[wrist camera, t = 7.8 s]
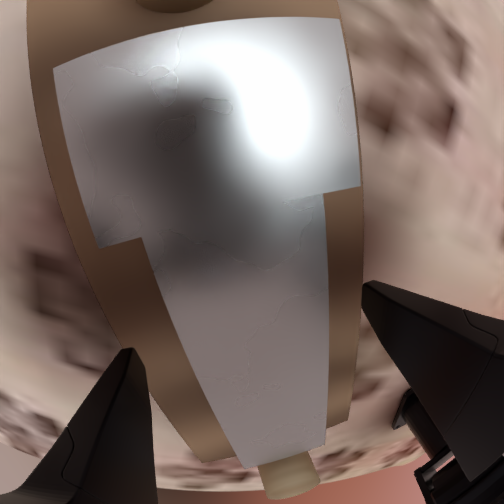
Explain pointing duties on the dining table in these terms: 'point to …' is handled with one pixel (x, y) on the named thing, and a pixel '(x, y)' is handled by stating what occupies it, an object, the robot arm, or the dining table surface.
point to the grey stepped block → (226, 202)
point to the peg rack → (133, 251)
